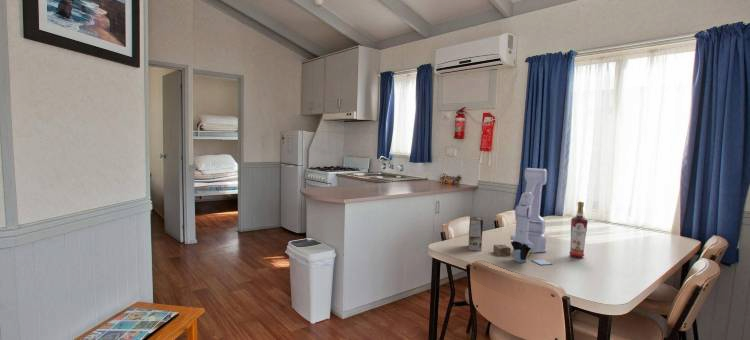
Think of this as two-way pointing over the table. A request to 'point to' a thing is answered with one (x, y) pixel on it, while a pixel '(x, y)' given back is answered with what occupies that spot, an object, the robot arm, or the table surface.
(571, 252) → the liquor
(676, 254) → the table surface
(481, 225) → the coffee box
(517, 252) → the blue block
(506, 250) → the walnut block
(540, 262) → the tile
